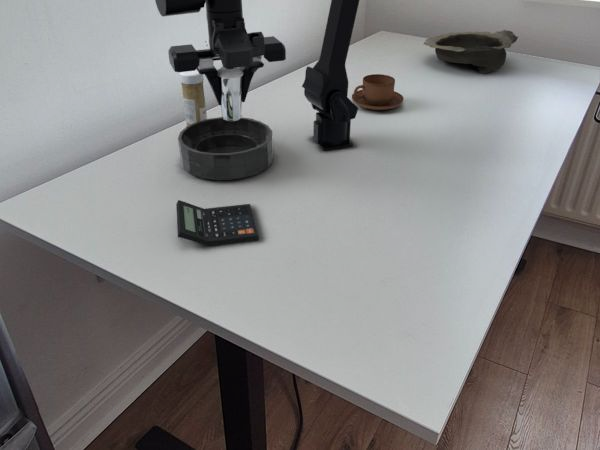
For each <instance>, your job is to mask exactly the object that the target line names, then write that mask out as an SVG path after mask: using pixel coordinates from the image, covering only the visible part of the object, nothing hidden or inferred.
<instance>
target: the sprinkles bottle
mask: <svg viewBox="0 0 600 450" xmlns="http://www.w3.org/2000/svg"><path fill="white" fill-rule="evenodd" d="M204 77H205V76H204V74H199V73H198V71H197V70H195V71H186V72H179V81H180V84H181V90H182V91H181V92H182V101H183V109H184V119H185V122H186V127H187V126H189V125H191V124H193V123H195V122H198V121H202V120H206V119H208V115H207V114H208V113H207V107H206V106H207V105H206V97H205V90H204V89H205V88H204V80H205V78H204Z"/></svg>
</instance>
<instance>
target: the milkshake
mask: <svg viewBox="0 0 600 450" xmlns="http://www.w3.org/2000/svg"><path fill="white" fill-rule="evenodd" d="M217 77H218V83H219V88H220V93H221V105H220V109H221V110H220V111H221V117H222V118H223V120H225V121H238V120H239V119H241V117H242V103H243V102H242V86H243V71H242V70H241V69H240V68H239V67H237V68H234V69H226V68H224V67H223V66H221V67H220V68H218V69H217Z"/></svg>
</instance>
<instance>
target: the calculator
mask: <svg viewBox="0 0 600 450" xmlns="http://www.w3.org/2000/svg"><path fill="white" fill-rule="evenodd" d="M176 226H177V227H176V229H177V238H180V239H184V240H187V241H189V242H194V243H197V244H199V245H204V246H208V247H215V246H222V245H230V244H237V243H248V242H255V241H259V240H260V239H259V233H258V229H257V225H256V222H255V217H254V214H253V210H252V207H251V204H250V203H245V204H244V203H243V204H236V205H226V206H217V207H209V208H208V207H207V208H203V207H201V206H197V205H194V204H191V203H189V202H186V201H183V200H180V199H177V201H176Z"/></svg>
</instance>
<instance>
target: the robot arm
mask: <svg viewBox="0 0 600 450" xmlns="http://www.w3.org/2000/svg"><path fill="white" fill-rule="evenodd" d="M154 1H155V5H156V8H157V11H158V14H160V16H161V17H169V16H170V17H171V16H178V15H188V14H195V13H197V14H198V13H199V12H201V10H202V9H203V8H205V10H206V22H207V32H208V46H209V48H205V49H196V48H195V47H194V46H193V44H192V43H191V44H181V45H172V46H170V47H169V49H168V59H169V64H170V66H171V67H172V70H173V71H174V72H175V73H180V72H186V71H195V70H197V71H198V73H199V74H203V75H204V77H206V80H207V82H208V84H209V86H210V88H211V90H212V91H211V92H212V93H213V95H214V97H215V99H216V102H217V104H218V105H219V106H221V93H220V88H219V83H218V77H217V70H218V69H217V67H216V66H214V62H215V61H221V65H222V67H224V68H226V69H234V68H237V67H239V68H240V69H241V70H242V71H243V86H242V103H245V102H246V99H247V96H248V92H249V90H250V89H249V88H250V85H251V82H252V80H253V77H254V75H255V73H256V72H257V71H258V70H259V69H261V68H264V67H265V63H264V62H263V61H262V58H264V59H265V60H266V61H267V62H268V63H273V62H282V61H286V60H287V56H286V55H287V51H286V50H287V49H286V46H285V44H284V43H283V42H281V40H279V39H278V38H277V37H275V36H265V35H264V34H263V32H262V31H254V32H253V31H252V32H250V33H249V32H247V29H246V22H245V17H244V15H243V0H154ZM359 5H360V0H330V5H329V10H328V16H327V21H326V25H325V31H324V36H323V41H322V45H321V49H320V50H321V51H320V55H319V59H318V61H317V62H316V63H315V65H314V66H313V67H311V66H309V65H307V67H306V68H305V77H304V81H303V83H302V85H301V87H302V88H303V90H304V91H303V94H304V97H305V99H306V100H307V101H308V102H309V103H310V104H311V107H312V109H313V110H314V111H317V112H315V120H313V131H312V132H313V134H312V141H314V142H315V143H316V144H317V145H318V146H319V148H321V150H322V151H329V150H336V149H343V148H350V147H353V146H354V142H352V141H351V126H352V125H351V123H352V120H354V119H356V117H357V114H358V111H359V107H358V105H357V104H356V103H355V102H354V101H353V100H352V99H350V98H349V97H348V94H349V77H348V74H347V68H346V64H347V63H346V62H347V58H348V54H349V49H350V45H351V41H352V35H353V31H354V26H355V22H356V18H357V13H358V9H359Z"/></svg>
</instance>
